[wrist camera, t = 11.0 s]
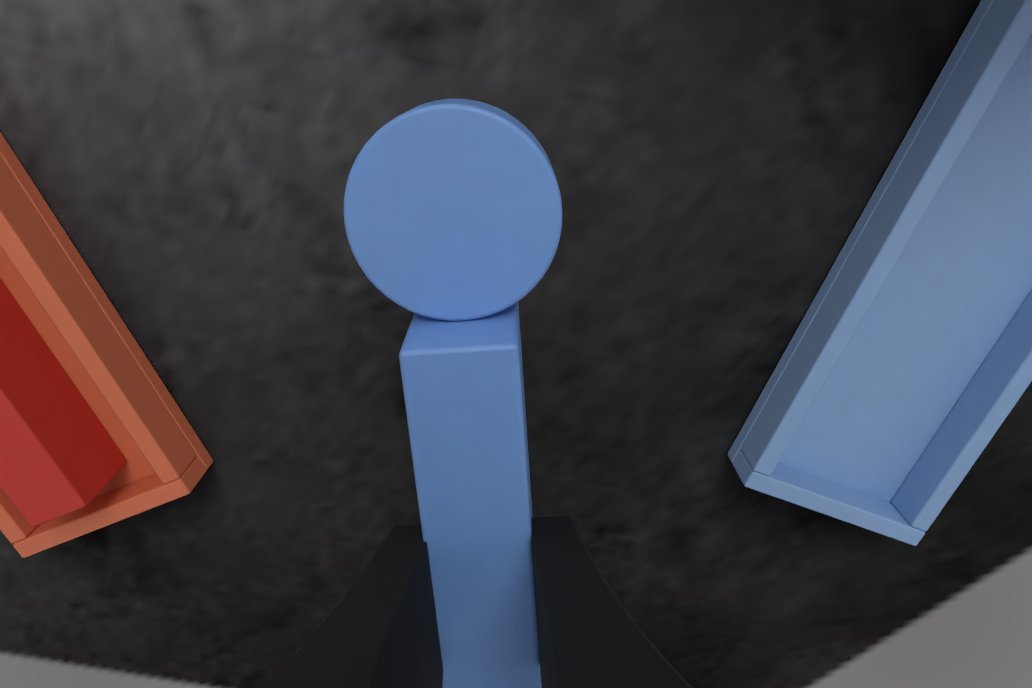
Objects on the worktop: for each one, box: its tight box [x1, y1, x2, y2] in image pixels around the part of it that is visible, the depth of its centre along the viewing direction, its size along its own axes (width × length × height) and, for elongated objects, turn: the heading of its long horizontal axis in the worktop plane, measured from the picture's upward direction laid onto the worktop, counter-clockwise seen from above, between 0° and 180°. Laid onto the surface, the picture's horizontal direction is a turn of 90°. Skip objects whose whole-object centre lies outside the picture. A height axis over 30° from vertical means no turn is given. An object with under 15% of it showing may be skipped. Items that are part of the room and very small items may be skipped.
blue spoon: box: [343, 99, 562, 688], centre depth 11 cm, size 9×3×2 cm, turn 4°
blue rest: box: [728, 0, 1032, 546], centre depth 18 cm, size 14×5×2 cm, turn 159°
